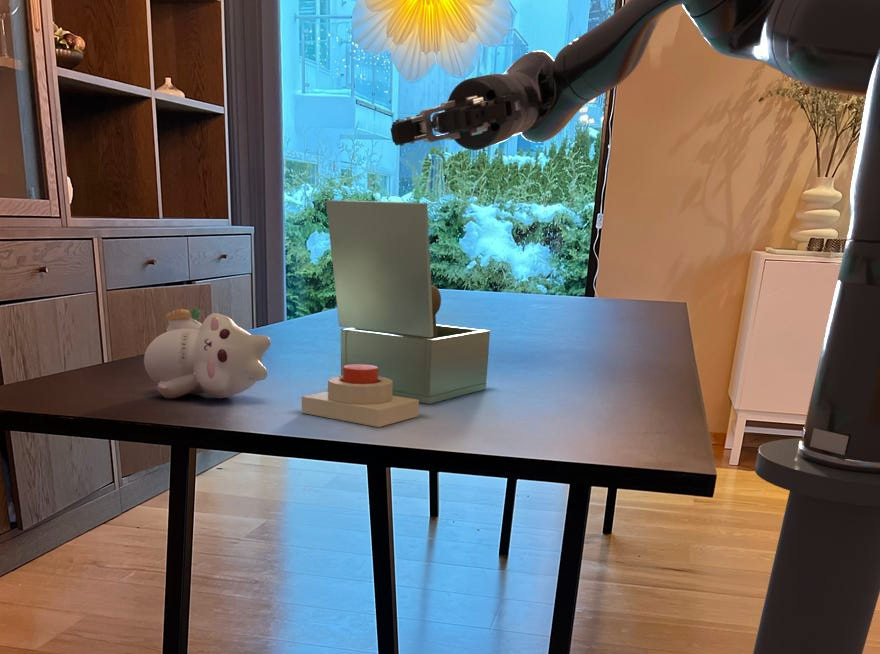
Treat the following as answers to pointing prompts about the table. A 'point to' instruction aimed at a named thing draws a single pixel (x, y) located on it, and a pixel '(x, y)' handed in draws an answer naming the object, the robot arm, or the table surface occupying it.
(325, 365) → the table surface
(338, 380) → the panel
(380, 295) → the box lid
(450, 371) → the open box
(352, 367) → the button
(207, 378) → the cat figurine
